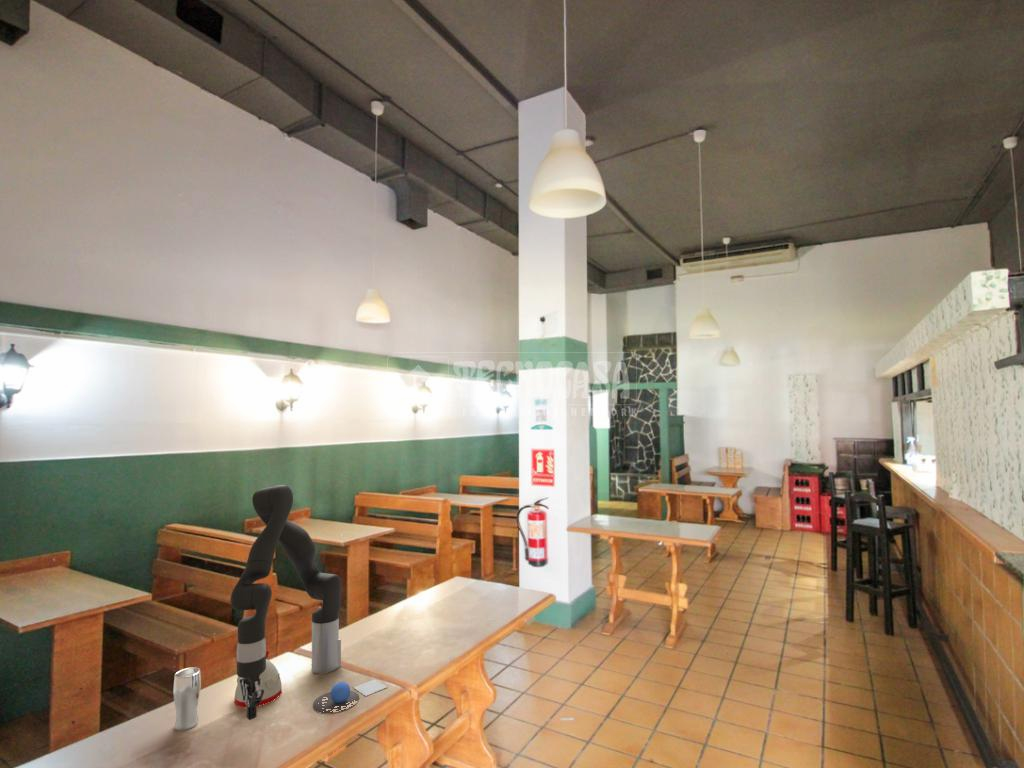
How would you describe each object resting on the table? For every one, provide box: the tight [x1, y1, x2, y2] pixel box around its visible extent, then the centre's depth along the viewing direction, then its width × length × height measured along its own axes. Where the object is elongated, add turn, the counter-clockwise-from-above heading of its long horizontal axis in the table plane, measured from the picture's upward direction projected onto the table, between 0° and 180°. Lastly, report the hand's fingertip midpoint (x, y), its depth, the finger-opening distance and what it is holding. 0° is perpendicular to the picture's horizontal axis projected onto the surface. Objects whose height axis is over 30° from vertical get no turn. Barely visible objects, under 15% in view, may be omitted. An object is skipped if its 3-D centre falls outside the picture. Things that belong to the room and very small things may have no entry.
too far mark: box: [353, 679, 388, 697], centre depth 178 cm, size 8×8×1 cm
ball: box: [330, 681, 351, 704], centre depth 169 cm, size 6×6×6 cm
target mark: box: [312, 689, 360, 714], centre depth 169 cm, size 14×14×1 cm
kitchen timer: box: [234, 650, 283, 708], centre depth 174 cm, size 14×14×15 cm
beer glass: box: [172, 667, 202, 732], centre depth 158 cm, size 7×7×15 cm
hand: (251, 717), depth 152 cm, fingers closed
